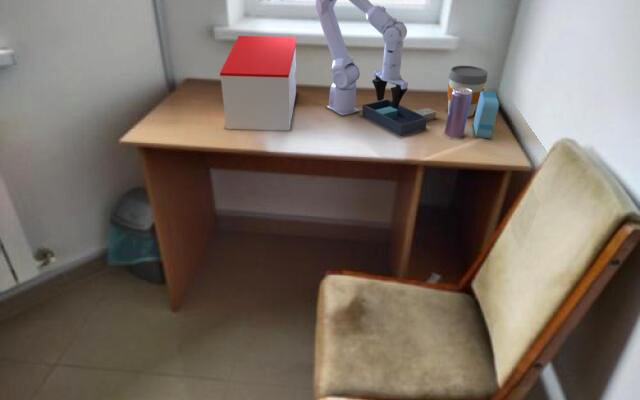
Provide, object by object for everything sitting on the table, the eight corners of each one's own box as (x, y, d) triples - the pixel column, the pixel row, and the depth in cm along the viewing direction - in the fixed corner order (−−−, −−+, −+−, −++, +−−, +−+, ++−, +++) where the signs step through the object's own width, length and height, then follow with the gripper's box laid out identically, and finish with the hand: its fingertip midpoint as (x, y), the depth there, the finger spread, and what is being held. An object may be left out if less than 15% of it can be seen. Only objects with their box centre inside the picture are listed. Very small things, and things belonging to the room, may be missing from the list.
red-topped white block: (296, 92, 172) (295, 37, 160) (289, 130, 142) (288, 66, 131) (243, 91, 172) (238, 35, 160) (225, 128, 143) (218, 64, 131)
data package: (490, 140, 139) (499, 104, 133) (475, 138, 140) (484, 102, 133) (486, 125, 149) (495, 91, 142) (473, 123, 150) (481, 89, 143)
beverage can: (459, 140, 139) (469, 95, 130) (441, 136, 141) (450, 91, 133) (465, 134, 143) (475, 89, 134) (447, 129, 145) (456, 85, 137)
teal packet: (373, 117, 151) (374, 110, 150) (389, 113, 154) (389, 106, 153) (381, 122, 148) (382, 114, 147) (397, 117, 152) (398, 110, 150)
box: (361, 116, 153) (362, 104, 151) (386, 110, 158) (387, 98, 156) (400, 137, 140) (402, 125, 137) (425, 130, 145) (427, 117, 142)
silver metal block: (412, 119, 152) (413, 111, 151) (426, 115, 155) (427, 107, 154) (420, 123, 149) (421, 115, 148) (435, 119, 153) (436, 111, 151)
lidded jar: (457, 121, 151) (466, 78, 143) (435, 108, 161) (442, 67, 152) (486, 116, 156) (496, 74, 147) (463, 103, 165) (471, 63, 157)
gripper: (417, 67, 138) (411, 108, 145) (386, 55, 148) (382, 94, 155) (400, 70, 134) (395, 112, 142) (370, 58, 144) (367, 98, 152)
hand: (387, 103), depth 148 cm, fingers open, 7 cm apart
